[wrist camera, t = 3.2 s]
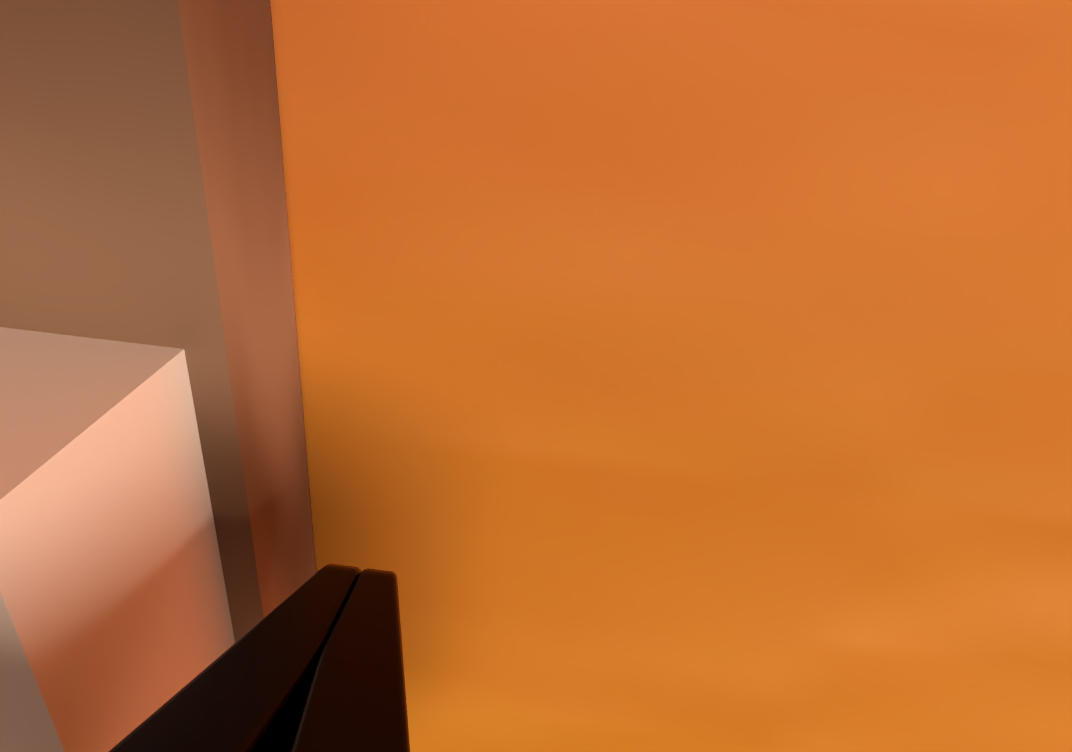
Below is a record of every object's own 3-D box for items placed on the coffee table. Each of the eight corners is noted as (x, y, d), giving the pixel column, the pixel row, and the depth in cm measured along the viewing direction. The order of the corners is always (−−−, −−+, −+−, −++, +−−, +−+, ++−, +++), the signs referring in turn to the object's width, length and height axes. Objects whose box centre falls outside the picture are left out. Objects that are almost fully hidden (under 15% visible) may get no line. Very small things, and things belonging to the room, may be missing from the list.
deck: (329, 738, 14) (293, 838, 13) (58, 705, 14) (-15, 801, 13) (253, -210, 7) (137, -293, 5) (-325, -277, 7) (-644, -383, 5)
